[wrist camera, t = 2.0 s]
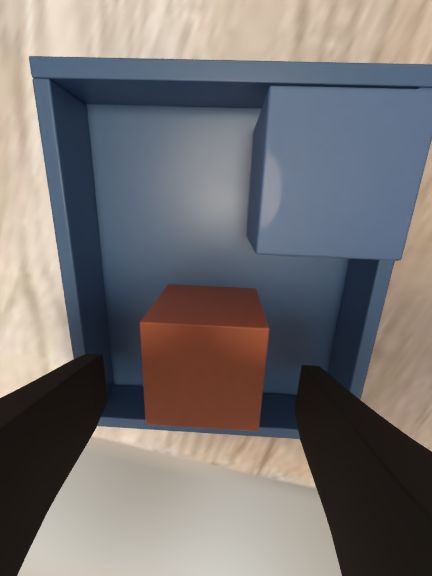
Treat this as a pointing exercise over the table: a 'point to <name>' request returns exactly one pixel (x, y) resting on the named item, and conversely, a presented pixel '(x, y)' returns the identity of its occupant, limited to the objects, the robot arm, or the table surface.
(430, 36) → the table surface
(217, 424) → the terracotta block
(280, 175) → the blue block
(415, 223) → the table surface
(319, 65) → the blue tray
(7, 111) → the table surface
